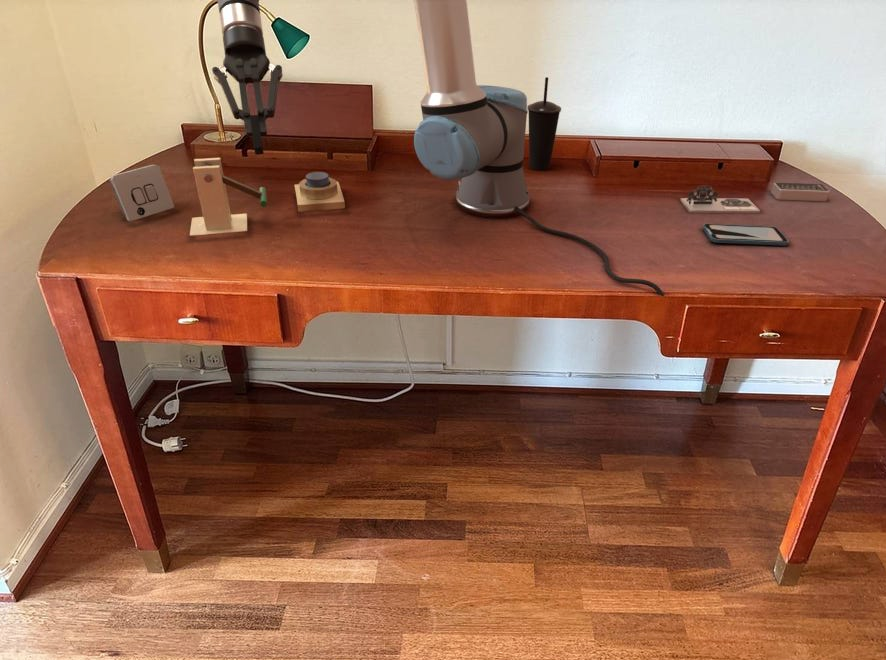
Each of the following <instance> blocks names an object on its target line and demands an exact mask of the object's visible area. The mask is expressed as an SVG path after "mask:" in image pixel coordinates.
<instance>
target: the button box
mask: <svg viewBox="0 0 886 660" xmlns="http://www.w3.org/2000/svg"><path fill="white" fill-rule="evenodd" d="M294 190H295V197H296V198H295V199H296V204H297V209H298V212H300V213H301V212H314V211H315V212H316V211H326V210H327V211H329V210H340V209H342V210H343V209H346V202H345V199H344V195H343V192H342V188H341V185H340V182H339V181H337V180H336V179H334V178H332V177H329V185H328V186H326V187H322V188H312V187H308V186H307V182H306V178H304V179H302V180H301V181H299V183H297V184H294Z"/></svg>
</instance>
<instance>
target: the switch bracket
mask: <svg viewBox="0 0 886 660" xmlns="http://www.w3.org/2000/svg"><path fill="white" fill-rule="evenodd" d="M193 162H194V166H193V167H192V172H193V176H194V180H195V185H196V186H195V187H196V190H197V194H198V199H199V203H200V208H201V213H202V216H198V217H191V221H190V222H191V224H190V230H189V237H195V236H206V235H207V236H208V235H218V234H232V233H244V232H248V213H236V214H232V212H231V207H230V201H229V196H228V191H227V184H224V183H223V180H222V175H223V176H225V175H224V171H223V166H222V159H221V157H210V158H209V157H208V158H207V157H206V158H194V159H193ZM203 162H206V163H208V164H210V165H212V166H202V164H203Z"/></svg>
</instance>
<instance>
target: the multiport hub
mask: <svg viewBox="0 0 886 660" xmlns="http://www.w3.org/2000/svg"><path fill="white" fill-rule="evenodd" d="M830 192H831V191H830V190H829V189H828V188H827V187H826V186H825V185H824V184H822V183H800V182H773V184H772V188H771V191H770V193H771V194H772V195H773V197H774V198H775V199H776V200H779V201H780V200H781V201H801V202H802V201H804V202H805V201H807V202H827V200H828V198H829V194H830Z"/></svg>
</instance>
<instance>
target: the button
mask: <svg viewBox="0 0 886 660" xmlns="http://www.w3.org/2000/svg"><path fill="white" fill-rule="evenodd" d="M329 178H330V177H329V173H327V172H324V171H313V172H308V173H307V174H306V175H305V179H306V182H307V186H308V187H312V188H322V187H326V186H328V185H329Z"/></svg>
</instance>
